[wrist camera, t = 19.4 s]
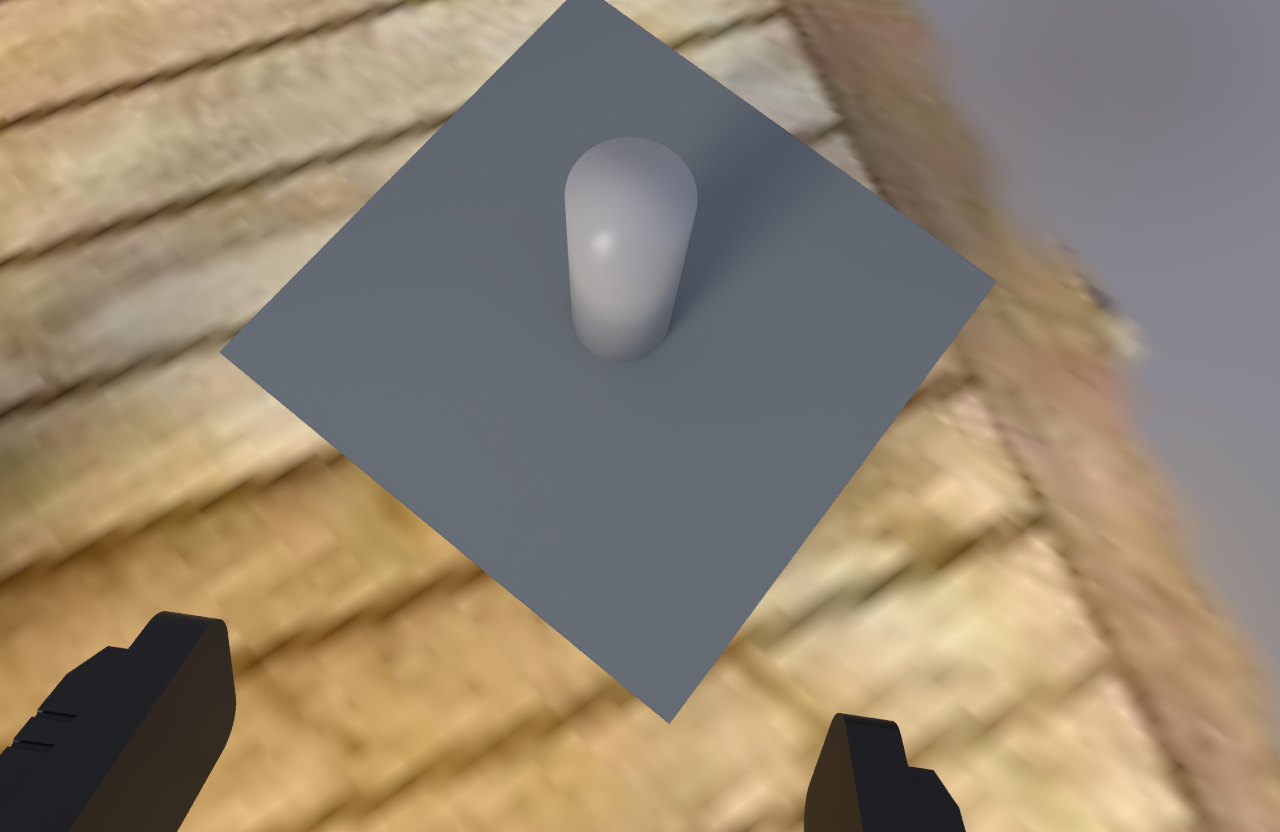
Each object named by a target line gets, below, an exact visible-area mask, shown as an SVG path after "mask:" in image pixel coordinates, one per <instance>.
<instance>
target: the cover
mask: <svg viewBox="0 0 1280 832" xmlns="http://www.w3.org/2000/svg"><path fill="white" fill-rule="evenodd" d="M995 283H996V280H994V279H993V278H992V277H990V276H989V275H987V274H986V273H985V272H983V271H982V270H980V269H979V268H978V267H976V266H975V265H973V264H972V263H971V262H969V261H968V260H966V259H965V258H964V257H962V256H961V255H959V254H958V253H957V252H955V251H954V250H952V249H951V248H950V247H948V246H947V245H945V244H944V243H943V242H941V241H940V240H938V239H937V238H936V237H934V236H933V235H931V234H930V233H929V232H927V231H926V230H924V229H923V228H922V227H920V226H919V225H917V224H916V223H915V222H913V221H912V220H910V219H909V218H908V217H906V216H905V215H903V214H902V213H901V212H899V211H898V210H896V209H895V208H894V207H892V206H891V205H889V204H888V203H887V202H885V201H884V200H882V199H881V198H880V197H878V196H877V195H875V194H874V193H873V192H871V191H870V190H868V189H867V188H866V187H864V186H863V185H861V184H860V183H859V182H857V181H856V180H855V179H853V178H852V177H850V176H849V175H848V174H846V173H845V172H843V171H842V170H841V169H839V168H838V167H836V166H835V165H834V164H832V163H831V162H829V161H828V160H827V159H825V158H824V157H822V156H821V155H820V154H818V153H817V152H815V151H814V150H813V149H811V148H810V147H808V146H807V145H806V144H804V143H803V142H801V141H800V140H799V139H797V138H796V137H794V136H793V135H792V134H790V133H789V132H787V131H786V130H785V129H783V128H782V127H780V126H779V125H778V124H776V123H775V122H773V121H772V120H771V119H769V118H768V117H766V116H765V115H764V114H762V113H761V112H759V111H758V110H757V109H755V108H754V107H752V106H751V105H750V104H748V103H747V102H745V101H744V100H743V99H741V98H740V97H738V96H737V95H736V94H734V93H733V92H731V91H730V90H729V89H727V88H726V87H724V86H723V85H722V84H720V83H719V82H717V81H716V80H715V79H713V78H712V77H710V76H709V75H708V74H706V73H705V72H704V71H702V70H701V69H699V68H698V67H697V66H695V65H694V64H692V63H691V62H690V61H688V60H687V59H685V58H684V57H683V56H681V55H680V54H678V53H677V52H676V51H674V50H673V49H671V48H670V47H669V46H667V45H666V44H664V43H663V42H662V41H660V40H659V39H657V38H656V37H655V36H653V35H652V34H650V33H649V32H648V31H646V30H645V29H643V28H642V27H641V26H639V25H638V24H636V23H635V22H634V21H632V20H631V19H629V18H628V17H627V16H625V15H624V14H622V13H621V12H620V11H618V10H617V9H615V8H614V7H613V6H611V5H610V4H608V3H607V2H606V1H604V0H566V1H565V2H564V3H563V4H562V5H561V6H560V7H559V8H558V9H557V10H556V11H555V12H554V13H553V15H552V16H551V17H550V18H549V19H548V20H547V21H546V22H545V23H544V24H543V25H542V26H541V27H540V28H539V29H538V30H537V31H536V32H535V33H534V34H533V35H532V36H531V37H530V38H529V39H528V40H527V41H526V42H525V43H524V44H523V45H522V46H521V47H520V48H519V49H518V50H517V51H516V52H515V53H514V54H513V55H512V56H511V57H510V58H509V59H508V60H507V61H506V62H505V63H504V64H503V65H502V66H501V67H500V68H499V69H498V70H497V71H496V72H495V73H494V74H493V75H492V76H491V77H490V78H489V79H488V80H487V81H486V82H485V83H484V84H483V85H482V86H481V87H480V88H479V89H478V91H477V92H476V93H475V94H474V95H473V96H472V97H471V98H470V99H469V100H468V101H467V102H466V103H465V104H464V105H463V106H462V107H461V108H460V109H459V110H458V111H457V112H456V113H455V114H454V115H453V116H452V117H451V118H450V119H449V120H448V121H447V122H446V123H445V124H444V125H443V126H442V127H441V128H440V129H439V130H438V131H437V132H436V133H435V134H434V135H433V136H432V137H431V138H430V139H429V140H428V141H427V142H426V143H425V144H424V145H423V146H422V147H421V148H420V149H419V150H418V151H417V152H416V153H415V154H414V155H413V156H412V157H411V158H410V159H409V160H408V161H407V162H406V163H405V164H404V165H403V167H402V168H401V169H400V170H399V171H398V172H397V173H396V174H395V175H394V176H393V177H392V178H391V179H390V180H389V181H388V182H387V183H386V184H385V185H384V186H383V187H382V188H381V189H380V190H379V191H378V192H377V193H376V194H375V195H374V196H373V197H372V198H371V199H370V200H369V201H368V202H367V203H366V204H365V205H364V206H363V207H362V208H361V209H360V210H359V211H358V212H357V213H356V214H355V215H354V216H353V217H352V218H351V219H350V220H349V221H348V222H347V223H346V224H345V225H344V226H343V227H342V228H341V229H340V230H339V231H338V232H337V233H336V234H335V235H334V236H333V237H332V238H331V239H330V240H329V241H328V243H327V244H326V245H325V246H324V247H323V248H322V249H321V250H320V251H319V252H318V253H317V254H316V255H315V256H314V257H313V258H312V259H311V260H310V261H309V262H308V263H307V264H306V265H305V266H304V267H303V268H302V269H301V270H300V271H299V272H298V273H297V274H296V275H295V276H294V277H293V278H292V279H291V280H290V281H289V282H288V283H287V284H286V285H285V286H284V287H283V288H282V289H281V290H280V291H279V292H278V293H277V294H276V295H275V296H274V297H273V298H272V299H271V300H270V301H269V302H268V303H267V304H266V305H265V306H264V307H263V308H262V309H261V310H260V311H259V312H258V313H257V314H256V315H255V316H254V317H253V318H252V320H251V321H250V322H249V323H248V324H247V325H246V326H245V327H244V328H243V329H242V330H241V331H240V332H239V333H238V334H237V335H236V336H235V337H234V338H233V339H232V340H231V341H230V342H229V343H228V344H227V345H226V346H225V347H224V348H223V349H222V350H221V351H220V353H221V354H222V355H223V356H225V357H226V358H227V359H228V360H230V361H231V362H232V363H233V364H234V365H236V366H237V367H238V368H239V369H240V370H242V371H243V372H244V373H245V374H246V375H248V376H249V377H250V378H251V379H253V380H254V381H255V382H256V383H257V384H259V385H260V386H261V387H262V388H263V389H265V390H266V391H267V392H268V393H269V394H271V395H272V396H273V397H274V398H276V399H277V400H278V401H279V402H280V403H282V404H283V405H284V406H285V407H286V408H288V409H289V410H290V411H291V412H292V413H294V414H295V415H296V416H297V417H299V418H300V419H301V420H302V421H303V422H305V423H306V424H307V425H308V426H309V427H311V428H312V429H313V430H314V431H315V432H317V433H318V434H319V435H320V436H321V437H323V438H324V439H325V440H326V441H328V442H329V443H330V444H331V445H332V446H334V447H335V448H336V449H337V450H338V451H340V452H341V453H342V454H343V455H344V456H346V457H347V458H348V459H349V460H351V461H352V462H353V463H354V464H355V465H357V466H358V467H359V468H360V469H361V470H363V471H364V472H365V473H366V474H367V475H369V476H370V477H371V478H372V479H374V480H375V481H376V482H377V483H378V484H380V485H381V486H382V487H383V488H384V489H386V490H387V491H388V492H389V493H390V494H392V495H393V496H394V497H395V498H397V499H398V500H399V501H400V502H401V503H403V504H404V505H405V506H406V507H407V508H409V509H410V510H411V511H412V512H413V513H415V514H416V515H417V516H418V517H419V518H421V519H422V520H423V521H424V522H426V523H427V524H428V525H429V526H430V527H432V528H433V529H434V530H435V531H436V532H438V533H439V534H440V535H441V536H442V537H444V538H445V539H446V540H447V541H449V542H450V543H451V544H452V545H453V546H455V547H456V548H457V549H458V550H459V551H461V552H462V553H463V554H464V555H465V556H467V557H468V558H469V559H470V560H472V561H473V562H474V563H475V564H476V565H478V566H479V567H480V568H481V569H482V570H484V571H485V572H486V573H487V574H488V575H490V576H491V577H492V578H493V579H495V580H496V581H497V582H498V583H499V584H501V585H502V586H503V587H504V588H505V589H507V590H508V591H509V592H510V593H511V594H513V595H514V596H515V597H516V598H517V599H519V600H520V601H521V602H522V603H524V604H525V605H526V606H527V607H528V608H530V609H531V610H532V611H533V612H534V613H536V614H537V615H538V616H539V617H540V618H542V619H543V620H544V621H545V622H547V623H548V624H549V625H550V626H551V627H553V628H554V629H555V630H556V631H557V632H559V633H560V634H561V635H562V636H563V637H565V638H566V639H567V640H568V641H570V642H571V643H572V644H573V645H574V646H576V647H577V648H578V649H579V650H580V651H582V652H583V653H584V654H585V655H586V656H588V657H589V658H590V659H591V660H593V661H594V662H595V663H596V664H597V665H599V666H600V667H601V668H602V669H603V670H605V671H606V672H607V673H608V674H609V675H611V676H612V677H613V678H614V679H616V680H617V681H618V682H619V683H620V684H622V685H623V686H624V687H625V688H626V689H628V690H629V691H630V692H631V693H632V694H634V695H635V696H636V697H637V698H638V699H640V700H641V701H642V702H643V703H645V704H646V705H647V706H648V707H649V708H651V709H652V710H653V711H654V712H655V713H657V714H658V715H659V716H660V717H661V718H663V719H664V720H665V721H666V722H668V723H669V724H670V722H671V721H672V720H673V718H674V717H675V716H676V714H677V713H678V712H679V710H680V709H681V708H682V706H683V705H684V704H685V702H686V701H687V699H688V698H689V697H690V695H691V694H692V693H693V691H694V690H695V689H696V687H697V686H698V685H699V683H700V682H701V681H702V679H703V678H704V676H705V675H706V674H707V672H708V671H709V670H710V668H711V667H712V666H713V664H714V663H715V662H716V660H717V659H718V658H719V656H720V655H721V653H722V652H723V651H724V649H725V648H726V647H727V645H728V644H729V643H730V641H731V640H732V639H733V637H734V636H735V635H736V633H737V632H738V630H739V629H740V628H741V626H742V625H743V624H744V622H745V621H746V620H747V618H748V617H749V616H750V614H751V613H752V612H753V610H754V609H755V607H756V606H757V605H758V603H759V602H760V601H761V599H762V598H763V597H764V595H765V594H766V593H767V591H768V590H769V589H770V587H771V586H772V584H773V583H774V582H775V580H776V579H777V578H778V576H779V575H780V574H781V572H782V571H783V570H784V568H785V567H786V566H787V564H788V563H789V561H790V560H791V559H792V557H793V556H794V555H795V553H796V552H797V551H798V549H799V548H800V547H801V545H802V544H803V543H804V541H805V540H806V538H807V537H808V536H809V534H810V533H811V532H812V530H813V529H814V528H815V526H816V525H817V524H818V522H819V521H820V520H821V518H822V517H823V515H824V514H825V513H826V511H827V510H828V509H829V507H830V506H831V505H832V503H833V502H834V501H835V499H836V498H837V497H838V495H839V494H840V492H841V491H842V490H843V488H844V487H845V486H846V484H847V483H848V482H849V480H850V479H851V478H852V476H853V475H854V474H855V472H856V471H857V469H858V468H859V467H860V465H861V464H862V463H863V461H864V460H865V459H866V457H867V456H868V455H869V453H870V452H871V451H872V449H873V448H874V446H875V445H876V444H877V442H878V441H879V440H880V438H881V437H882V436H883V434H884V433H885V432H886V430H887V429H888V428H889V426H890V425H891V423H892V422H893V421H894V419H895V418H896V417H897V415H898V414H899V413H900V411H901V410H902V409H903V407H904V406H905V405H906V403H907V402H908V400H909V399H910V398H911V396H912V395H913V394H914V392H915V391H916V390H917V388H918V387H919V386H920V384H921V383H922V382H923V380H924V379H925V377H926V376H927V375H928V373H929V372H930V371H931V369H932V368H933V367H934V365H935V364H936V363H937V361H938V360H939V359H940V357H941V356H942V354H943V353H944V352H945V350H946V349H947V348H948V346H949V345H950V344H951V342H952V341H953V340H954V338H955V337H956V336H957V334H958V333H959V331H960V330H961V329H962V327H963V326H964V325H965V323H966V322H967V321H968V319H969V318H970V317H971V315H972V314H973V313H974V311H975V310H976V308H977V307H978V306H979V304H980V303H981V302H982V300H983V299H984V298H985V296H986V295H987V294H988V292H989V291H990V290H991V288H992V287H993V285H994V284H995Z"/></svg>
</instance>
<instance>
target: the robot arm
mask: <svg viewBox="0 0 1280 832" xmlns="http://www.w3.org/2000/svg"><path fill="white" fill-rule="evenodd" d="M235 711H236V695H235V687H234V679H233V671H232V663H231V655H230V647H229V639H228V631H227V627H226V624H225V622H224V621H223V620H221V619H215V618H208V617H201V616H195V615H188V614H181V613H174V612H168V611H162V612H160V613H158V614H156V615H155V616H154V617H153V618H152V619H151V620H150V621H149V622H148V624H147V625H146V626H145V628H144V629H143V630H142V632H141V633H140V634H139V636H138V637H137V638H136V639H135V641H134V642H133V643H132V645H131V646H130V647H129V649H125V648H118V647H111V646H107V647H106V648H104V649H103V650H101V651H100V652H99V653H97V654H96V655H94V656H93V657H91V658H90V659H88V660H87V661H85V662H84V663H82V664H81V665H79V666H78V667H76V668H75V669H73V670H72V671H71V672H69V673H68V674H66V675H65V677H64V678H63V679H62V680H61V682H60V683H59V684H58V685H57V686H56V688H55V689H54V690H53V691H52V693H51V694H50V695H49V696H48V697H47V699H46V700H45V701H44V702H43V704H42V705H41V706H40V707H39V708H38V712H37V715H36V716H35V717H31V718H30V719H29V721H28V722H27V723H26V724H25V725H24V727H23V728H22V729H21V730H20V732H19V733H18V734H17V735H16V736H15V738H14V741H13V744H12V746H11V747H8V746H7V747H6V749H5V750H4V751H3V752H2V754H1V755H0V832H177V831H178V829H179V828H180V826H181V824H182V822H183V821H184V819H185V817H186V815H187V813H188V812H189V810H190V808H191V806H192V805H193V803H194V801H195V799H196V797H197V796H198V794H199V792H200V790H201V789H202V787H203V785H204V783H205V782H206V780H207V778H208V776H209V774H210V773H211V771H212V769H213V767H214V766H215V764H216V762H217V760H218V759H219V757H220V755H221V753H222V751H223V749H224V748H225V745H226V743H227V741H228V738H229V736H230V733H231V730H232V726H233V722H234V717H235ZM804 832H966V831H965V827H964V823H963V820H962V816H961V813H960V809H959V807H958V805H957V804H956V802H955V801H954V800H953V798H952V797H951V795H950V794H949V792H948V791H947V789H946V788H945V786H944V785H943V783H942V782H941V780H940V779H939V778H938V776H937V775H936V773H935V772H934V770H929V769H923V768H916V767H909V766H908V764H907V759H906V755H905V751H904V746H903V742H902V738H901V734H900V730H899V728H898V726H897V724H896V723H895V722H894V721H889V720H882V719H876V718H869V717H862V716H855V715H849V714H842V713H837V714H836V715H835V716H834V718H833V720H832V722H831V725H830V728H829V730H828V733H827V736H826V739H825V742H824V745H823V747H822V750H821V753H820V756H819V759H818V762H817V764H816V767H815V770H814V773H813V776H812V778H811V781H810V784H809V787H808V791H807V796H806V803H805V813H804Z"/></svg>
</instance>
